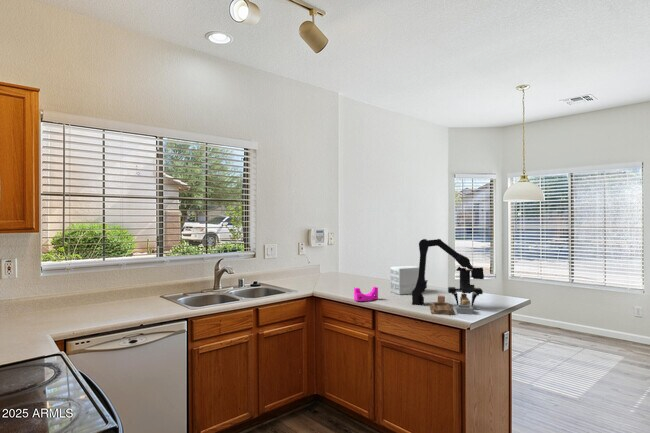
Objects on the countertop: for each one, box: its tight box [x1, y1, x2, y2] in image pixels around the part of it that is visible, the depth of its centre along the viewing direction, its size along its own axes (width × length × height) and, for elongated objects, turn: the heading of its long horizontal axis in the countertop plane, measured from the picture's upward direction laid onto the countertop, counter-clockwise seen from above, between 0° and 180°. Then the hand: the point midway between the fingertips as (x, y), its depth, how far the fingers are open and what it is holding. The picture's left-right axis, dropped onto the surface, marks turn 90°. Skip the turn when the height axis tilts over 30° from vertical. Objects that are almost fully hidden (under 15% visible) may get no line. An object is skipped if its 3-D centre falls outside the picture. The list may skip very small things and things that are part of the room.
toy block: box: [353, 286, 379, 302], centre depth 251 cm, size 15×6×8 cm, turn 104°
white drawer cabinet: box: [389, 264, 419, 296], centre depth 275 cm, size 17×13×18 cm
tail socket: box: [454, 304, 474, 315], centre depth 216 cm, size 8×8×3 cm
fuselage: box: [459, 293, 471, 305], centre depth 228 cm, size 4×12×7 cm, turn 167°
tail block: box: [437, 295, 446, 303], centre depth 236 cm, size 4×4×5 cm
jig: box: [429, 301, 455, 316], centre depth 220 cm, size 12×20×2 cm, turn 167°
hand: (464, 305), depth 228 cm, fingers open, 8 cm apart
